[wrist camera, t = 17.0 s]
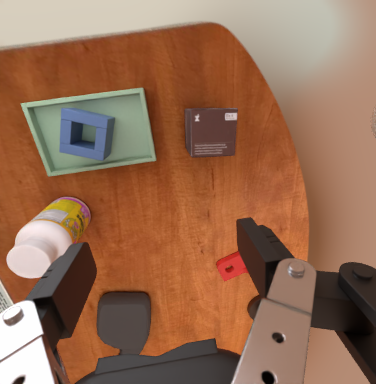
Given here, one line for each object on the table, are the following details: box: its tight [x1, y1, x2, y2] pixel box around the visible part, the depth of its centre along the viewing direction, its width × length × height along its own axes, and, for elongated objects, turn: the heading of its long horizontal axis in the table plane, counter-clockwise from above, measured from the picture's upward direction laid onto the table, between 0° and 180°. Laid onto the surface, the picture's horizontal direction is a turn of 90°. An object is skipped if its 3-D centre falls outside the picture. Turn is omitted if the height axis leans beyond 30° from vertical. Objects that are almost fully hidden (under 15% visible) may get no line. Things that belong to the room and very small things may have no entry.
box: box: [185, 108, 238, 157], centre depth 31 cm, size 6×6×7 cm
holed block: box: [59, 108, 115, 161], centre depth 30 cm, size 6×6×4 cm
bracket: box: [216, 251, 249, 281], centre depth 41 cm, size 12×4×8 cm, turn 116°
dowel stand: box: [248, 295, 261, 320], centre depth 45 cm, size 8×8×12 cm
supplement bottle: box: [7, 197, 91, 278], centre depth 31 cm, size 7×7×13 cm
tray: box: [21, 88, 157, 176], centre depth 32 cm, size 16×10×2 cm, turn 97°
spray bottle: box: [97, 292, 151, 355], centre depth 47 cm, size 3×11×24 cm
